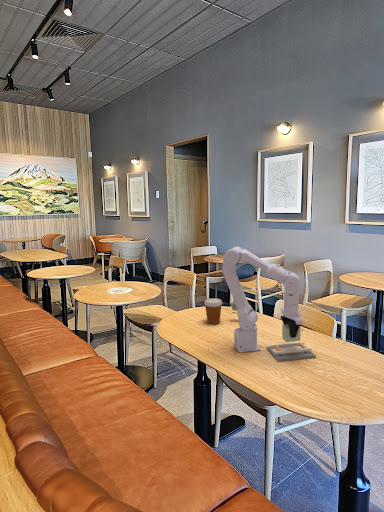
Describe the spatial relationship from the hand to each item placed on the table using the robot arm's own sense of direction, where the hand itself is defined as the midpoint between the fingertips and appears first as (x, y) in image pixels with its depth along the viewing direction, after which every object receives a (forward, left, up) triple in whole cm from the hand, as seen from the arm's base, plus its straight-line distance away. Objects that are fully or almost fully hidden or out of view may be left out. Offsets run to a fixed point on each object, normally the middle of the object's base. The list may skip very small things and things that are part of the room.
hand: (290, 335), depth 137 cm
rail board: (0, 0, -8) cm, 8 cm away
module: (0, 0, -2) cm, 2 cm away
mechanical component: (-9, +41, -8) cm, 43 cm away
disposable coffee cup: (-23, +42, -8) cm, 49 cm away
